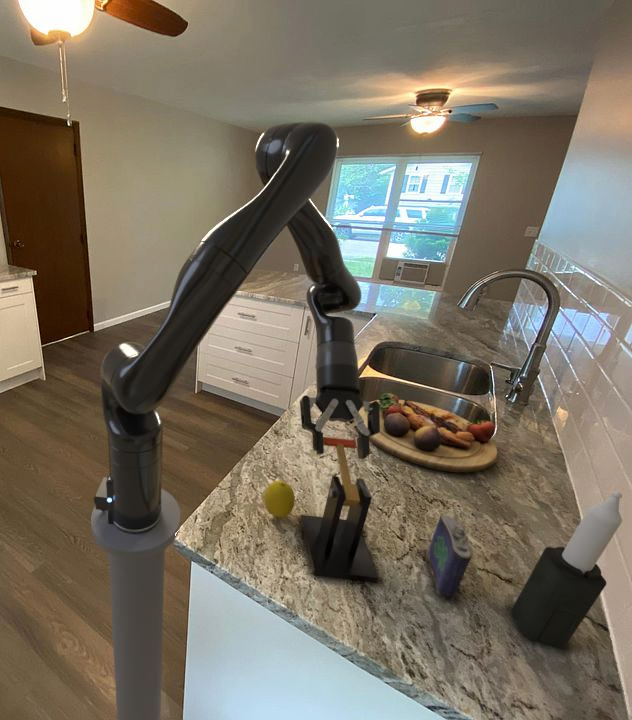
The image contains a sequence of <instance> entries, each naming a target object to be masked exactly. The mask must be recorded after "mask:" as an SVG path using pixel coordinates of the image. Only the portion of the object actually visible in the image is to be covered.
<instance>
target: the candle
mask: <svg viewBox="0 0 632 720" xmlns="http://www.w3.org/2000/svg"><path fill="white" fill-rule="evenodd" d="M622 498H623V495H622V493H621V492H619V491H612V492H611V496H609V497H608V498H606V499H605V500H603V501H601V502H599V503H595V504H592V505H590V506H588V509H587V510H586V511H585V513H584V515H583V517H582V518H581V520H580V522H579V524H578V525H577V527H576V529H575V530H574V532H573V534H572V536H571V538H570V539H569V542H568V543H567V545H566V546H565V547H564V546H557V547H552V546H547V547H545V548H544V549H543V551H542V553H541V555H540V556H539V559H538V560H537V562H536V564H535V566H534V568H533V570H532V571H531V573H530V574H529V576H528V579H527V580H526V581H525V584H524V586H523V588H522V590H521V591H520V593H519V594H518V597H517V598H516V600H515V602H514V604H513V605H512V608H511V614H512V615H513V618H514V620H515V622H516V624H517V626H518V628H519V630H520V632H521V633H522V634H523V636H524V637H525V638H527V639H529V640H530V641H533V642H539V643H543V644H545V645H546V644H547V645H549V646H553V647H555V648H557V649H565V647H566V646H567V645H568V643H569V642H570V640H571V638H572V637H573V635H574V634H575V632H576V631H577V629H578V628H579V626H580V625H581V623H582V622H583V620H584V619H585V617H586V616H587V615H588V613H589V611H590V610H591V609H592V608H593V605H594V604H595V602H596V601H597V600H598V598H599V597H600V595H601V593H602V592H603V590H604V589H605V587H606V586H607V580H606V579H605V577H604V576H603V575H602V570H601V567H599V565H598V564H597V562H598V561H599V559H600V558H601V556H602V554H603V553H604V551H605V550H606V549H607V546H608V545H609V544H610V542H611V540H612V539H613V537H614V535H616V532H617V531H618V529H619V528H620V526H621V525H622V522H623V519H622V516H621V513H620V499H622Z"/></svg>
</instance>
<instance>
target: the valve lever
mask: <svg viewBox="0 0 632 720" xmlns="http://www.w3.org/2000/svg"><path fill="white" fill-rule="evenodd" d="M323 444H324V447H325V446H327V447H335V449H336V453H337V454H336V455H337V460H338V465H339V470H340V471H339V472H340V477H341V485H342V488H343V490H344V493H345V499H344V503H343V506H342V507H356V506H357V504H358V503H359V502H360V498H359V494H358V489H357V485H355V484H356V483H355V484H353V483H352V481H351V475H350V470H349V465H348V459H347V455H346V450H345V448H347V449H356V448H357V447H356V446H357V440H356V439H352V438H351V439H350V438H340V437H331V436H323Z"/></svg>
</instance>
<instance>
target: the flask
mask: <svg viewBox="0 0 632 720" xmlns="http://www.w3.org/2000/svg"><path fill="white" fill-rule="evenodd" d="M469 531H470V529H469V528H468V527H467V525H466V526H462V525H460V524H459V523H458V522H457V521H456V519H455V518H454V517H452V516H450V515H447V514H442V515H439V518H438V522H437V525H436V526H435V529H434V533H433V535H432V538H431V540H430V543H429V545H428V547H427V549H426V551H425V557H426V561H427V562H428V565H429V571H430V573H431V574H432V576H433V577H434V578H433V581H434V582H435V587H436V592H437V593H438V595H439V596H440V597H442V599H443V600H447V601H454V600H455V598H456V597H457V592H458V590H459V587H460V585H461V582H462V580H463V577H464V574H465V573H466V570H467V569H468V566H469V564H470V561H471V559H472V553H471V547H470V544H469V541H468V538H467V536H466V533H465V532H467V533H468V532H469Z"/></svg>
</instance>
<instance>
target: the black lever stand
mask: <svg viewBox="0 0 632 720" xmlns="http://www.w3.org/2000/svg"><path fill="white" fill-rule="evenodd" d="M365 482H366V481H365V480H364V479H363V478H356V481H355V485H357V489H358V494H359V498H360V502H359V503H358V504H357V506H356V507H350V506H348V511H347V515H346V519H344V518H341V513H342V510H343V507H344V506H343V503H344V499H345V493H344V490H343V488H342V482H341V480H340V477H339V476H333V475H332V476H331V481H330V484H329V489H328V493H327V497H326V502H325V506H324V511H323V515H322V516H316V515H307V514H300V515H301V516H300V525H301V528H302V532H303V536H304V541H305V545H306V549H307V554H308V558H309V559H308V560H309V562H310V567H311V571H312V575H313V576H318V577H325V578H333V579H342V580H349V581H358V582H364V583H373V584H378V581H379V575H378V573H377V571H376V568H375V565H374V563H373V561H372V558H371V556H370V553H369V550H368V548H367V546H366V542H365V540H364V538H363V535H362V534H363V531H364V527H365V523H366V519H367V516H368V513H369V509H370V507H371V503H372V498H373V497H372V495H371V492H370V490H369V489H368V486H367V485H366V483H365Z"/></svg>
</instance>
